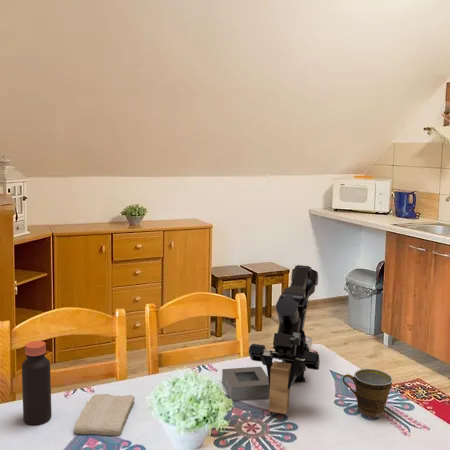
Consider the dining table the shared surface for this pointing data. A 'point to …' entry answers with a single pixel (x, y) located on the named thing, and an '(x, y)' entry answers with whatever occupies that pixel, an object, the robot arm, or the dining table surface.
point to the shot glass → (309, 342)
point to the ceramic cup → (371, 390)
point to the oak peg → (279, 387)
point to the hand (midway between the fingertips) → (279, 387)
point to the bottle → (36, 384)
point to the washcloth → (104, 415)
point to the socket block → (246, 383)
